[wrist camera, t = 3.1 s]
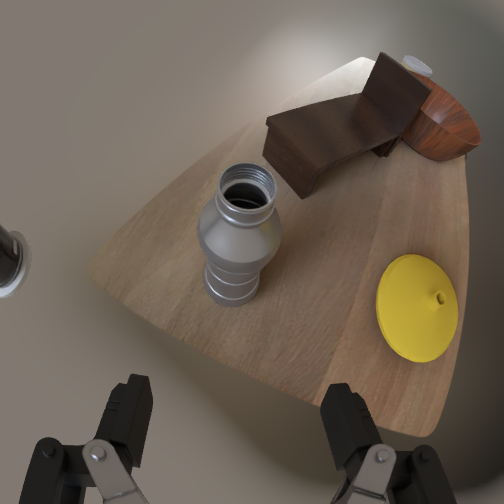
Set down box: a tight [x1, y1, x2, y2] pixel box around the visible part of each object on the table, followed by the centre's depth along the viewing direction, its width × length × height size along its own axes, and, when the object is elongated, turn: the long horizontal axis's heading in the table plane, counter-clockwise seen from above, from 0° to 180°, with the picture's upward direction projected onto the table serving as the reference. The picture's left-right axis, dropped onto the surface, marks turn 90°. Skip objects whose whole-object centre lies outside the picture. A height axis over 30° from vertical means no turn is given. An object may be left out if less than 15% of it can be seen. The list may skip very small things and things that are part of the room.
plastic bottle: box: [197, 162, 282, 307], centre depth 25 cm, size 6×7×20 cm
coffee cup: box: [401, 55, 432, 79], centre depth 57 cm, size 9×9×12 cm
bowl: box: [401, 70, 481, 161], centre depth 48 cm, size 25×25×12 cm
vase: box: [376, 254, 458, 363], centre depth 32 cm, size 16×16×7 cm
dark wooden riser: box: [262, 52, 432, 199], centre depth 37 cm, size 24×11×18 cm, turn 125°
